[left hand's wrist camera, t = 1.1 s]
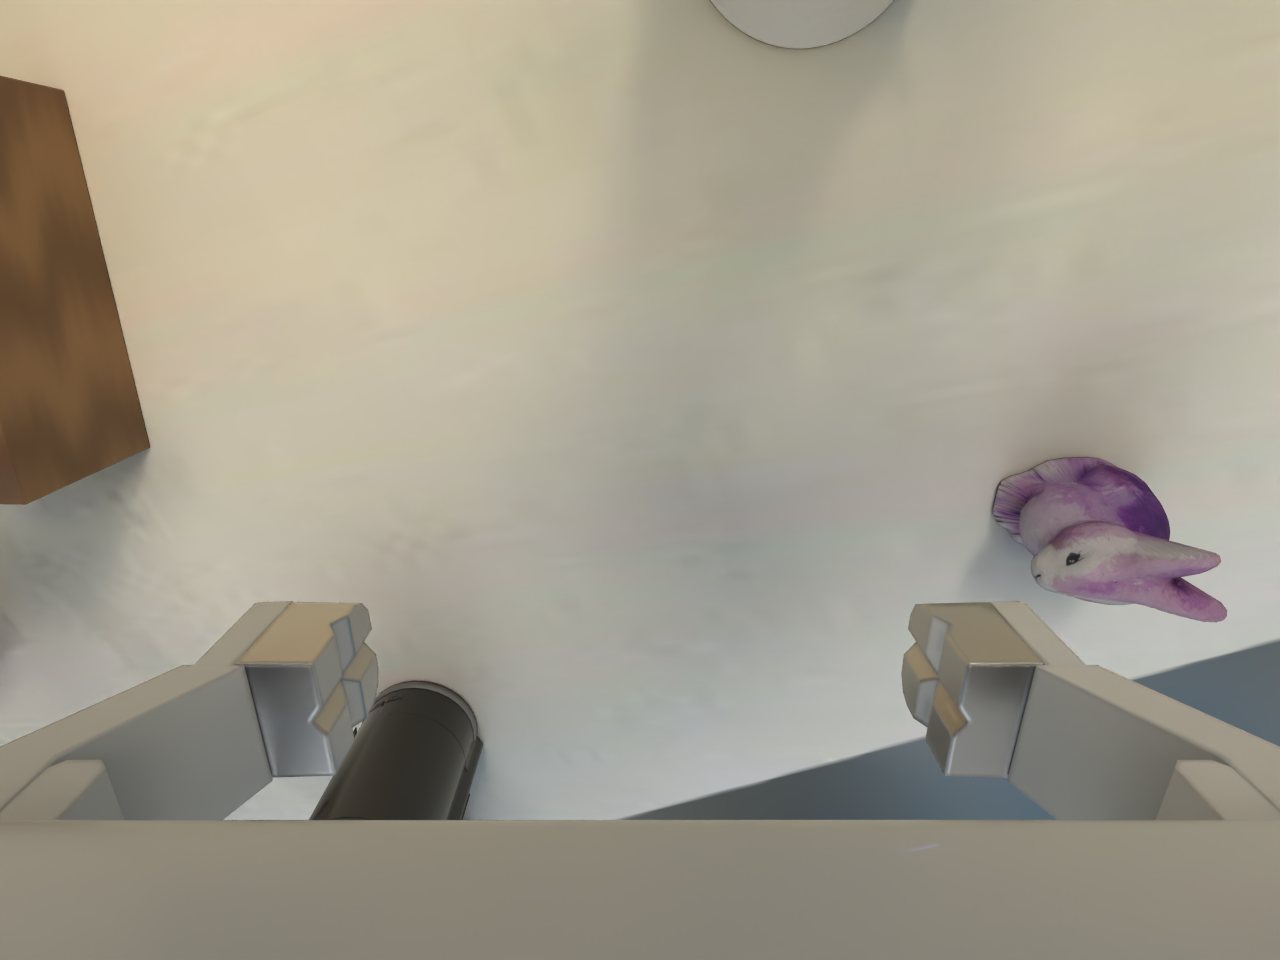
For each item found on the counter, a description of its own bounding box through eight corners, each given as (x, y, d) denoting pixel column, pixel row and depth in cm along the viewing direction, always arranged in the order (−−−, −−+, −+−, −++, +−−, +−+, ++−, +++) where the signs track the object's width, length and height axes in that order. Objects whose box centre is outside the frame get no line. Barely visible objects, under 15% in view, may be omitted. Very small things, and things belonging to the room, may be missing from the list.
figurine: (958, 507, 53) (1074, 611, 39) (1077, 419, 50) (1247, 495, 36) (1024, 588, 55) (1156, 714, 41) (1141, 507, 53) (1324, 612, 39)
